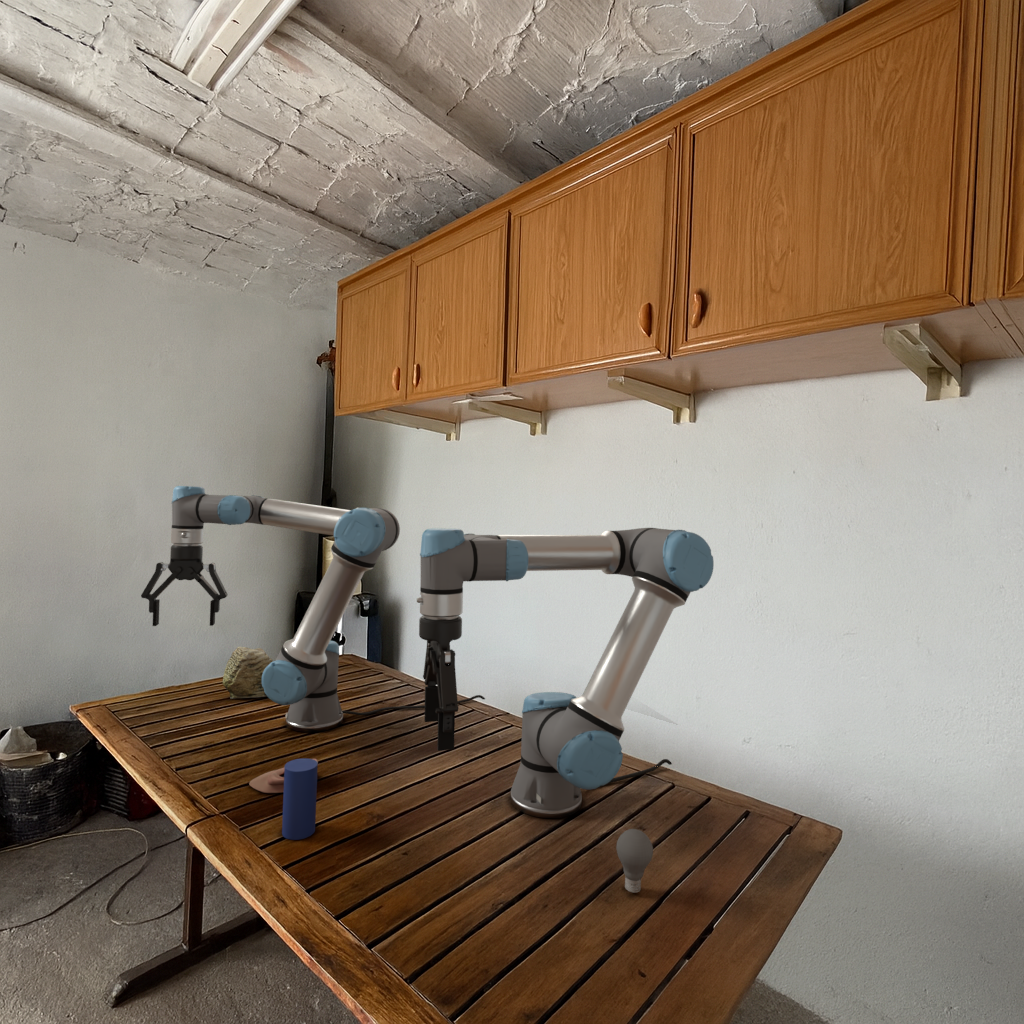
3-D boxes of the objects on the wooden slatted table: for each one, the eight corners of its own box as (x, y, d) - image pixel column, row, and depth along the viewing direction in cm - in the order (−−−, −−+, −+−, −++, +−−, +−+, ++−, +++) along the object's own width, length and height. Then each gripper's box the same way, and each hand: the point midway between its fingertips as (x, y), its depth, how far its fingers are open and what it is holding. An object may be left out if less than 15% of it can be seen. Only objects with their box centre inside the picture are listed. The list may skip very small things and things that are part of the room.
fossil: (218, 695, 195) (220, 647, 195) (278, 685, 208) (279, 640, 207) (228, 703, 189) (230, 653, 188) (289, 692, 201) (290, 645, 201)
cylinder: (278, 828, 120) (280, 762, 120) (309, 820, 124) (311, 755, 124) (287, 843, 116) (290, 774, 115) (319, 834, 119) (322, 766, 119)
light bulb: (610, 879, 108) (613, 822, 108) (644, 879, 109) (647, 822, 109) (619, 902, 102) (622, 840, 102) (655, 901, 103) (658, 840, 103)
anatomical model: (241, 770, 135) (272, 750, 146) (240, 789, 135) (271, 767, 146) (297, 779, 132) (324, 757, 144) (297, 798, 132) (324, 775, 144)
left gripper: (129, 544, 160) (126, 628, 160) (235, 546, 166) (232, 627, 167) (138, 542, 167) (136, 622, 167) (240, 544, 173) (237, 621, 174)
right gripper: (409, 604, 123) (407, 712, 123) (431, 631, 99) (429, 765, 100) (448, 603, 125) (445, 709, 126) (478, 629, 101) (475, 760, 102)
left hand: (184, 625), depth 167 cm, fingers open, 13 cm apart
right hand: (438, 734), depth 113 cm, fingers open, 13 cm apart
